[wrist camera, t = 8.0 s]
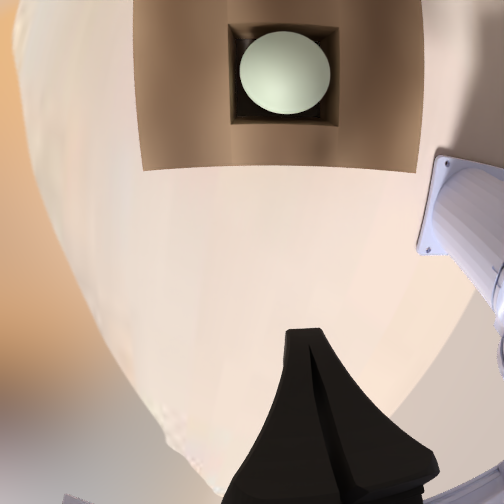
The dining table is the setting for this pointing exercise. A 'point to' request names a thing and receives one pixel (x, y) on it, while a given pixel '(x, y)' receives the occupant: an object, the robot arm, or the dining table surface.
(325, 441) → the robot arm
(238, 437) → the dining table surface
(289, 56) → the sage peg
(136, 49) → the peg block
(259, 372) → the dining table surface
